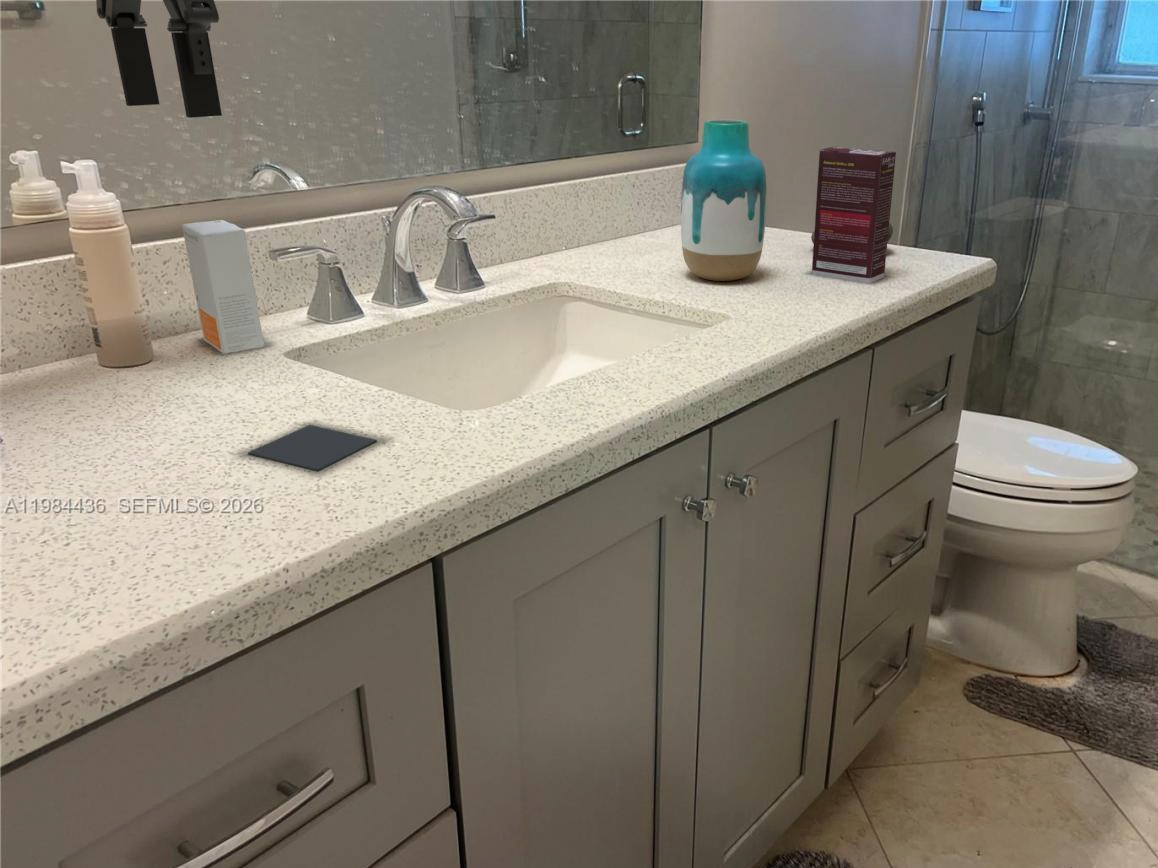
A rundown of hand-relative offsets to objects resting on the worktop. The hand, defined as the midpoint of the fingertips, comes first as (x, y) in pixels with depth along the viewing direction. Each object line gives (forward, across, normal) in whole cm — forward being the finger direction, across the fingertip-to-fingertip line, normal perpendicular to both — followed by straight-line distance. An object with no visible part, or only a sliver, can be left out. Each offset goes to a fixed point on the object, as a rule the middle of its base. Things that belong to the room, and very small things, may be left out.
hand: (172, 110), depth 92 cm
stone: (+23, -14, -85) cm, 89 cm away
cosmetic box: (+23, +2, -2) cm, 23 cm away
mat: (+23, -29, +5) cm, 37 cm away
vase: (+23, -12, -60) cm, 66 cm away
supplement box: (+23, -22, -73) cm, 80 cm away
